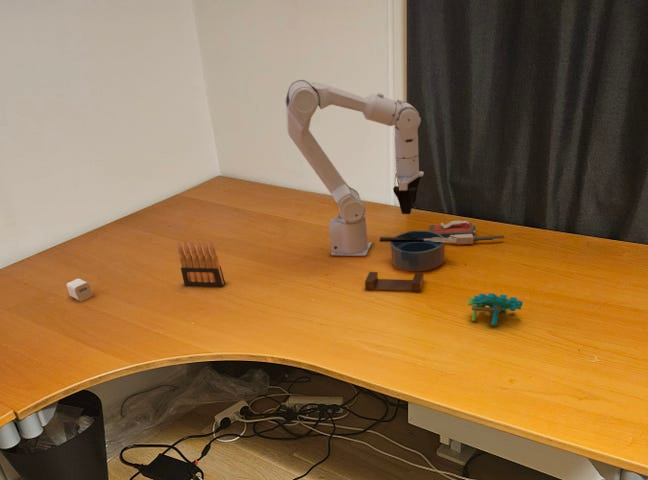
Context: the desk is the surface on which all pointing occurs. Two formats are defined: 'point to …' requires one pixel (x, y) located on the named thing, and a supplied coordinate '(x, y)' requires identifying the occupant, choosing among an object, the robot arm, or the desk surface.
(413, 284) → the cutlery rest
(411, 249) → the bowl
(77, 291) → the usb wall charger
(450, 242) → the fork
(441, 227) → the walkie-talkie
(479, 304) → the teal knobby toy
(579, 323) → the desk surface
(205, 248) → the ammunition clip
